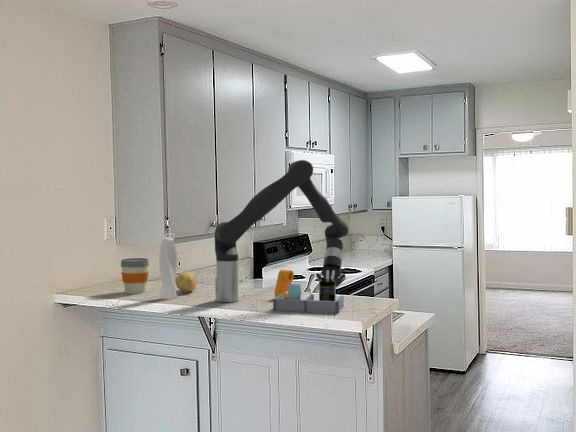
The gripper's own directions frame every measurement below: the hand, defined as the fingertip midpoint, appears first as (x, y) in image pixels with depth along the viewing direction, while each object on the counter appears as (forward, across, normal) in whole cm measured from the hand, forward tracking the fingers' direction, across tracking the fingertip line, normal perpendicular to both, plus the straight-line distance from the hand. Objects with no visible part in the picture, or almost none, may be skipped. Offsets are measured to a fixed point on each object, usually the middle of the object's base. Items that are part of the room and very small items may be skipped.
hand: (328, 293), depth 254 cm
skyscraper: (+3, -70, +3) cm, 70 cm away
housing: (+10, -6, -4) cm, 13 cm away
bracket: (-5, -20, +12) cm, 23 cm away
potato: (-9, -68, +15) cm, 70 cm away
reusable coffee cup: (-5, -91, +11) cm, 92 cm away
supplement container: (+6, 0, 0) cm, 6 cm away
